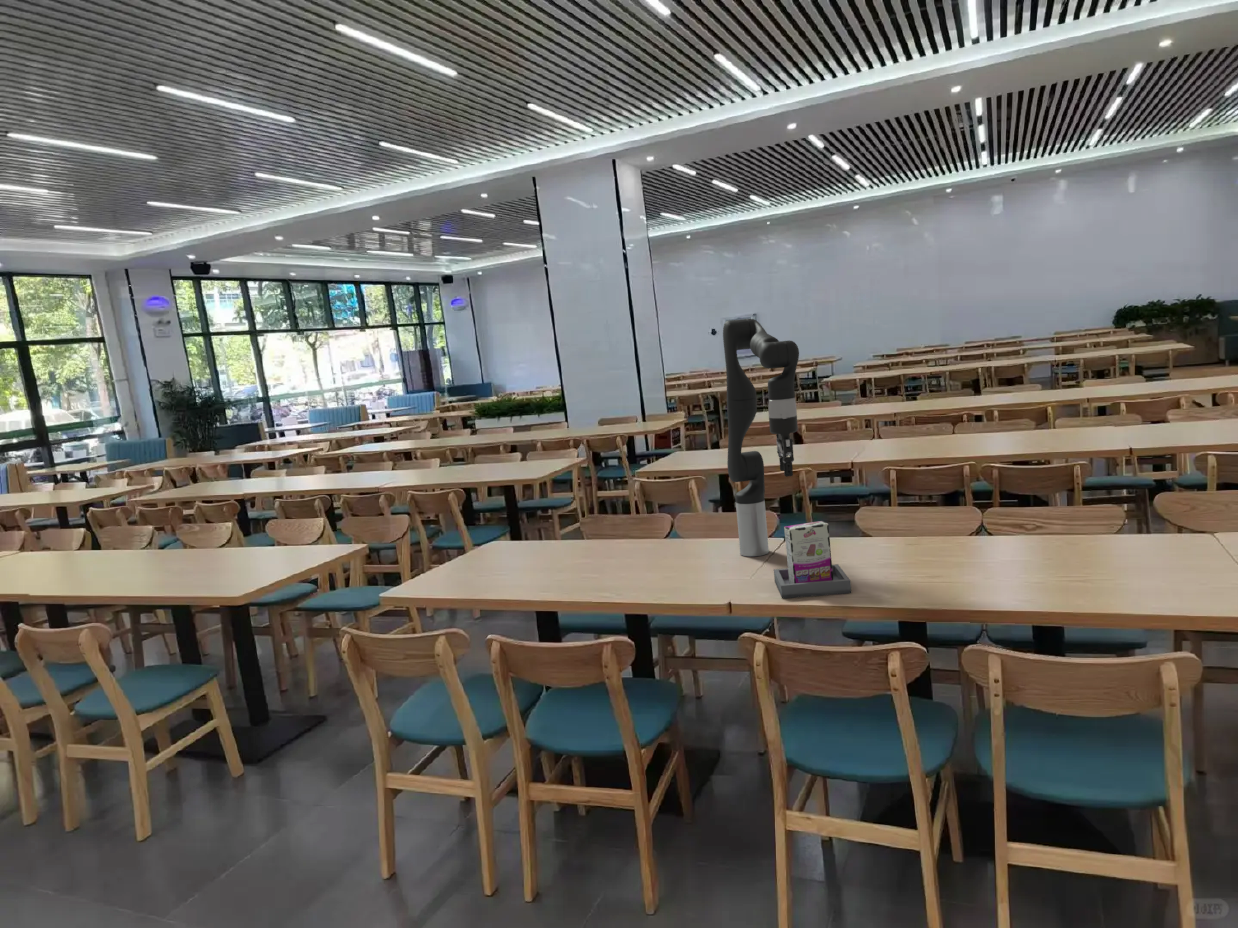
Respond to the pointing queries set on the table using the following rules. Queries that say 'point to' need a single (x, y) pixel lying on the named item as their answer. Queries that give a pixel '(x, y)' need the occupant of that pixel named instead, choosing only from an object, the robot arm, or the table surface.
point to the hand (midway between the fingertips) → (786, 473)
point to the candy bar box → (808, 552)
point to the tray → (812, 584)
